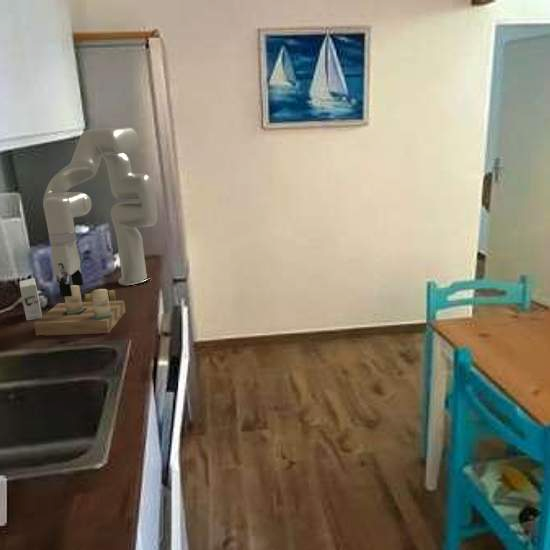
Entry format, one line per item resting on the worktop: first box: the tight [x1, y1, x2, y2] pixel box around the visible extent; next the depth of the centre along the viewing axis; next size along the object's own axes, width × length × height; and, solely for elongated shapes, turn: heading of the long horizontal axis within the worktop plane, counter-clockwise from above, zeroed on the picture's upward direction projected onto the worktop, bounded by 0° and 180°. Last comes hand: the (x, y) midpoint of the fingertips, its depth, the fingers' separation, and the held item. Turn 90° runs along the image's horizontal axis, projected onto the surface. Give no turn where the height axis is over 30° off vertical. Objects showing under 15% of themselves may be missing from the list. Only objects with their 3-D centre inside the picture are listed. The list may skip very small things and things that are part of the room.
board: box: [33, 288, 126, 337], centre depth 163 cm, size 18×22×12 cm
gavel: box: [84, 285, 117, 302], centre depth 189 cm, size 21×5×10 cm
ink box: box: [19, 278, 43, 321], centre depth 172 cm, size 8×5×12 cm, turn 27°
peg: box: [64, 284, 83, 315], centre depth 163 cm, size 5×5×12 cm
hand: (72, 290), depth 162 cm, fingers open, 9 cm apart
